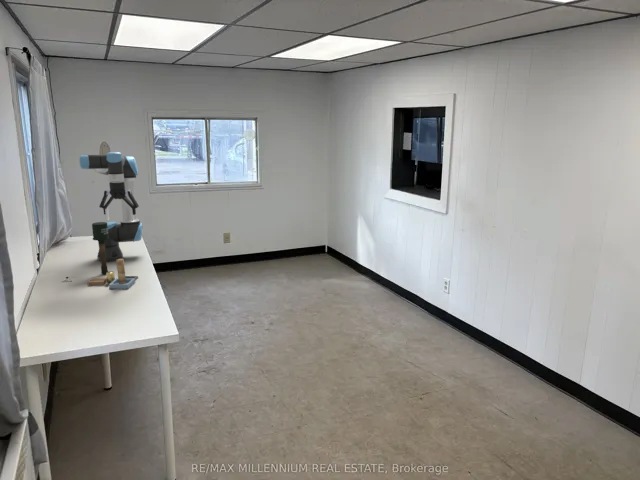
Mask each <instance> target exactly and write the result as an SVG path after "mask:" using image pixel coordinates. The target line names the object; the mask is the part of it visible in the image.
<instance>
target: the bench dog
mask: <svg viewBox="0 0 640 480" xmlns="http://www.w3.org/2000/svg"><path fill="white" fill-rule="evenodd" d="M105 277H107V283H106V284H107V285H109V284H110V283H111V282H113V281H114V280H115V279H116V276H115V271H111V270H110V271H108V272H106V276H105Z"/></svg>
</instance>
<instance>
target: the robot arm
mask: <svg viewBox="0 0 640 480" xmlns="http://www.w3.org/2000/svg"><path fill="white" fill-rule="evenodd" d="M79 166H80V169H82V170H93V171H94V172H96V173H97V174H101V175H105V176H108V182H109V185H108V186H109V190H108V189H106V190H104V191H103V196H102V198H101V201H100V204H99V208H101V209H103V215H105V222H106V221H107V222H106V223H107V227H108V236H109V239H106V240H105V256H106V263H107V262H115V261H116V260H117V259H124V254H123V251H122V250H121V247H120V244H119V243H129V242H133V243H134V242H140V241H141V240H142V239H143V238H142V237H143V223H142V222H141V221H140V219H139V218H138V213H137V208H140V205H139V204H138V202H137V199H136V191H135V180H136V179H137V176H139V168H138V164H137V161H136V158H135V157H134V156H131V155H130V156H128V155H127V156H126V155H125V156H123V155H122V152H119V151H111V152H109V151H108V152H107V153H106V154H81V155H80V156H79ZM108 195H110V197H109V199H108ZM113 200H120V202H121V203H120V204H121V214H122V215H121V217H122V219H121V220H120V222H119V224H118V223H117V221H110V219H111V218H110V210H109V205H111V203H112V201H113ZM96 257H97V258H96V259H97V261H99V262H101V257H100V250H99V249H98V252H97V256H96ZM116 262H117V261H116Z"/></svg>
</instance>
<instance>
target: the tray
mask: <svg viewBox="0 0 640 480" xmlns="http://www.w3.org/2000/svg"><path fill="white" fill-rule="evenodd" d="M135 284H136V280H135V279H134V278H131V279H126V284H119V281H118V278H115V280H114V281H113V282H111V283H110V284H108V289H109V290H129V289H131V288H132V286H134V285H135Z"/></svg>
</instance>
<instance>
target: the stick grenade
mask: <svg viewBox="0 0 640 480" xmlns="http://www.w3.org/2000/svg"><path fill="white" fill-rule="evenodd" d="M107 223H108V222H106V221H99V222H93V223H92V224H91V229H92V240H93V241H97V243H98V251H99V250H100V257H101V261H100V268H101V269H100V273H101V275H102V276H105V275H106V272H109V269H108V265H107V262H106V256H105V240H106V239H109V236H108V227H107Z"/></svg>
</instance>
